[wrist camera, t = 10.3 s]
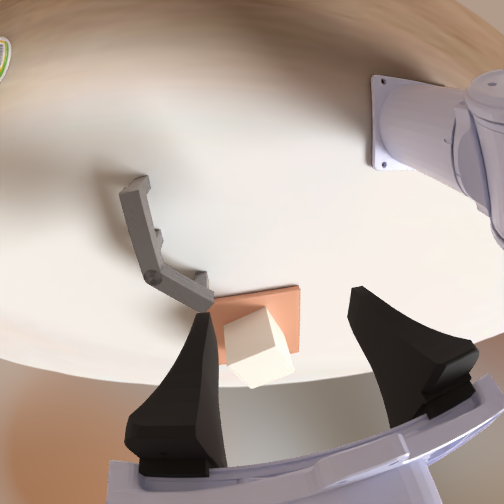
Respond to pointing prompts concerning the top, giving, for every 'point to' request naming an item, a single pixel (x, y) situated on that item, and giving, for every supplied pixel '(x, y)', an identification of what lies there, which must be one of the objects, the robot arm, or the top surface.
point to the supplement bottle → (4, 56)
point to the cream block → (257, 349)
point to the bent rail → (150, 256)
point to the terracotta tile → (276, 301)
